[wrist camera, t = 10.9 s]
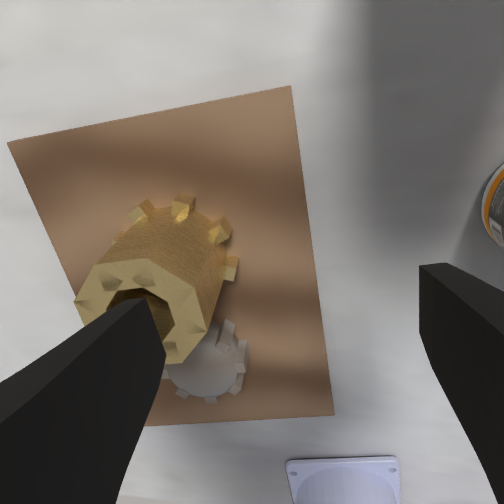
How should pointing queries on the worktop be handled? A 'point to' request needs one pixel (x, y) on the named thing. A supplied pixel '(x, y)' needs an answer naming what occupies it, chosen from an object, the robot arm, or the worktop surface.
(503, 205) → the pill bottle
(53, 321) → the worktop surface
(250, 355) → the carrier plate
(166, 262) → the gear
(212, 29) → the worktop surface
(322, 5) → the worktop surface
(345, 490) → the robot arm
